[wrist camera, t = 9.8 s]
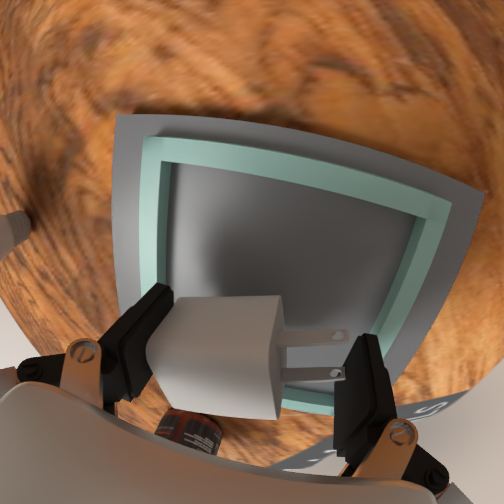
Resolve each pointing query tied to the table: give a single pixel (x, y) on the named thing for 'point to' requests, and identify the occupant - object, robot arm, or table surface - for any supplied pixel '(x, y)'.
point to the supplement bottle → (190, 430)
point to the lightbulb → (13, 231)
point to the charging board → (289, 232)
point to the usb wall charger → (232, 355)
